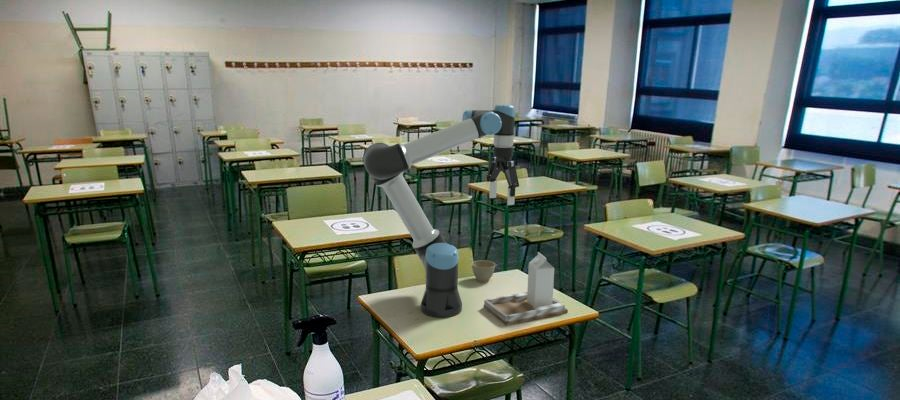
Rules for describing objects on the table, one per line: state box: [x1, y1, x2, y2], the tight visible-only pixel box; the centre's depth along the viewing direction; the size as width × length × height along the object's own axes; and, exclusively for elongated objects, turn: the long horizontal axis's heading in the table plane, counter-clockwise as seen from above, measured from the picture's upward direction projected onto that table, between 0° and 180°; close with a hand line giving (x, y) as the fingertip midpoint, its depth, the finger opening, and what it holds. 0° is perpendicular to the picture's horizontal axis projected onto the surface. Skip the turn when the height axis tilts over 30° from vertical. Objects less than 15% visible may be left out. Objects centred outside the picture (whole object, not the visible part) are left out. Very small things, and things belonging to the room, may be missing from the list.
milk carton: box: [526, 251, 555, 308], centre depth 190 cm, size 7×7×19 cm
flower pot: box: [471, 259, 496, 283], centre depth 219 cm, size 10×10×7 cm
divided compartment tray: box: [483, 291, 569, 326], centre depth 189 cm, size 26×16×3 cm, turn 115°
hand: (501, 201), depth 200 cm, fingers open, 13 cm apart
